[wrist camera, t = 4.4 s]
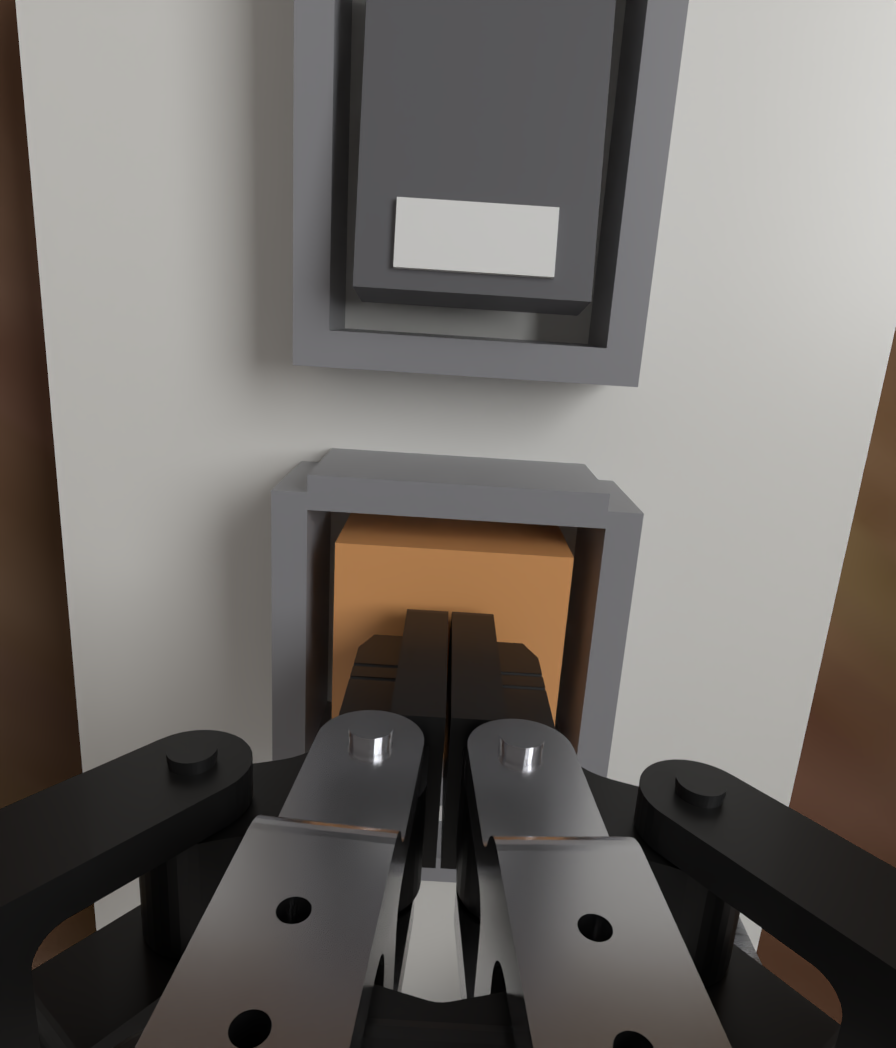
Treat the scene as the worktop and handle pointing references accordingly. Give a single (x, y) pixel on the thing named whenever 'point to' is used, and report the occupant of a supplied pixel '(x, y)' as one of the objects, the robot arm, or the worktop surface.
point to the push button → (450, 584)
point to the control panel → (458, 377)
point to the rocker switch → (482, 153)
